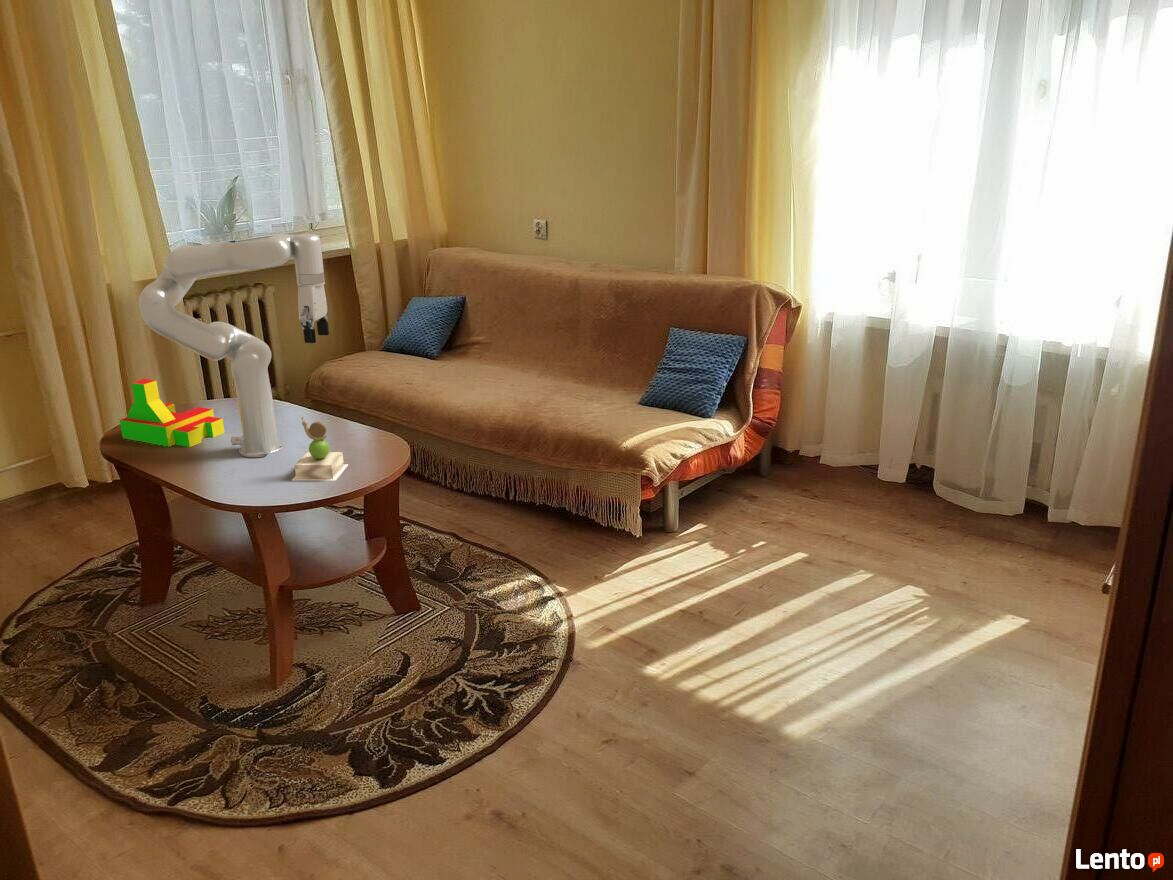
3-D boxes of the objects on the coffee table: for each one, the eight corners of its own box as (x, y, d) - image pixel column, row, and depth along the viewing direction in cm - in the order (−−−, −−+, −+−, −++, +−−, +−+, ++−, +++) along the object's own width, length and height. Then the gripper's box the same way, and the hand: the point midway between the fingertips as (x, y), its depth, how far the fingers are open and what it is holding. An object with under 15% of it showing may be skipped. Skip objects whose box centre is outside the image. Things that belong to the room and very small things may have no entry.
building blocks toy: (184, 450, 276) (173, 391, 270) (123, 440, 286) (112, 383, 280) (230, 431, 292) (221, 375, 286) (171, 422, 302) (162, 367, 296)
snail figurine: (308, 455, 255) (303, 413, 251) (332, 454, 255) (327, 412, 251) (304, 462, 249) (299, 420, 245) (328, 461, 250) (323, 419, 246)
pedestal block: (296, 478, 249) (294, 465, 248) (308, 465, 258) (306, 452, 257) (332, 479, 249) (331, 465, 247) (343, 465, 258) (342, 452, 257)
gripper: (309, 274, 269) (316, 332, 275) (285, 284, 253) (292, 345, 258) (334, 274, 268) (340, 332, 274) (311, 284, 252) (318, 346, 258)
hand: (317, 338), depth 266 cm, fingers open, 9 cm apart
